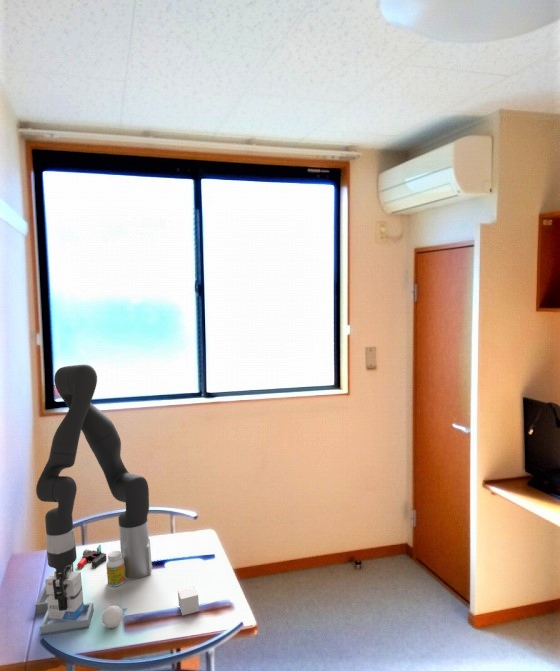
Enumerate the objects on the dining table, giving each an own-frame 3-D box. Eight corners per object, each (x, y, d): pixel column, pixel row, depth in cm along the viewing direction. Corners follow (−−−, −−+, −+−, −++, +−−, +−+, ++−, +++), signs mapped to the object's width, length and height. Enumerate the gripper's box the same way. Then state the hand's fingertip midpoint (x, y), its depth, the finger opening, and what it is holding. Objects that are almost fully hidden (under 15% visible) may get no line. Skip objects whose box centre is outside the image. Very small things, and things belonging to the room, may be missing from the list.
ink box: (85, 610, 154) (81, 571, 153) (75, 620, 149) (72, 580, 148) (57, 608, 155) (54, 569, 154) (47, 619, 150) (44, 579, 149)
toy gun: (87, 553, 195) (86, 540, 194) (110, 560, 189) (109, 546, 188) (65, 565, 186) (63, 552, 186) (88, 573, 180) (87, 559, 180)
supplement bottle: (109, 589, 169) (107, 559, 168) (106, 581, 174) (104, 552, 173) (126, 583, 171) (124, 554, 171) (123, 576, 176) (121, 548, 175)
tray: (48, 617, 155) (47, 609, 155) (93, 610, 157) (93, 602, 157) (40, 635, 147) (39, 626, 147) (88, 628, 149) (87, 619, 149)
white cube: (195, 602, 159) (194, 586, 159) (199, 611, 154) (198, 594, 154) (178, 606, 157) (177, 590, 157) (182, 615, 153) (181, 599, 152)
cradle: (73, 588, 171) (72, 579, 170) (64, 610, 158) (63, 600, 158) (47, 591, 169) (46, 582, 169) (36, 614, 157) (35, 604, 157)
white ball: (124, 629, 147) (122, 610, 147) (102, 634, 146) (100, 614, 145) (123, 614, 155) (122, 595, 154) (103, 618, 153) (101, 599, 153)
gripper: (53, 536, 157) (58, 591, 158) (40, 559, 143) (45, 620, 144) (80, 533, 158) (84, 588, 159) (69, 556, 144) (74, 615, 145)
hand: (65, 603), depth 152 cm, fingers closed on ink box, 6 cm apart
